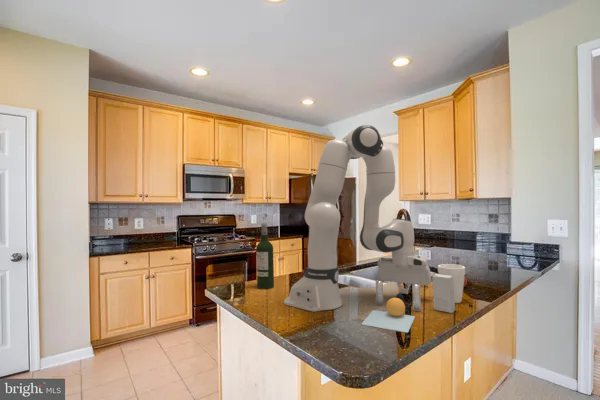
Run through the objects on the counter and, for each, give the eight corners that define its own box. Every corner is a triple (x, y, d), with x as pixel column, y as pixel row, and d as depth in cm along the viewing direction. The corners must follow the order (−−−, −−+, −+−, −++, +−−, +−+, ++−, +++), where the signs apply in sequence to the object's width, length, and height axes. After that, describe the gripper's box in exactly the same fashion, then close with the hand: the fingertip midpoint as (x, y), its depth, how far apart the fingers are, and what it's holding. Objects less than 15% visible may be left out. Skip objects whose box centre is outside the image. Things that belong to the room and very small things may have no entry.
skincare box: (455, 310, 105) (454, 275, 106) (451, 313, 102) (450, 277, 102) (437, 306, 110) (436, 273, 110) (432, 309, 106) (431, 275, 107)
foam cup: (469, 304, 111) (468, 269, 111) (442, 303, 112) (441, 268, 113) (461, 296, 120) (460, 264, 120) (436, 296, 122) (435, 263, 122)
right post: (412, 310, 106) (411, 284, 106) (413, 308, 108) (412, 283, 108) (420, 311, 105) (419, 285, 105) (421, 309, 107) (420, 283, 107)
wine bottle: (254, 288, 140) (252, 223, 140) (261, 284, 147) (260, 222, 148) (269, 289, 137) (268, 223, 138) (276, 285, 144) (275, 222, 145)
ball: (388, 309, 106) (384, 317, 101) (388, 293, 105) (384, 300, 100) (406, 312, 103) (403, 321, 98) (406, 296, 102) (403, 304, 97)
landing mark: (361, 324, 95) (361, 324, 95) (373, 310, 107) (373, 310, 107) (407, 332, 88) (407, 332, 88) (415, 316, 100) (415, 316, 100)
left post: (375, 305, 112) (374, 281, 112) (377, 303, 115) (376, 279, 115) (382, 306, 111) (381, 281, 111) (384, 304, 113) (383, 280, 114)
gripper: (375, 258, 124) (376, 292, 123) (429, 262, 114) (430, 298, 113) (379, 256, 129) (380, 288, 129) (431, 259, 119) (432, 294, 119)
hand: (404, 293), depth 121 cm, fingers closed
